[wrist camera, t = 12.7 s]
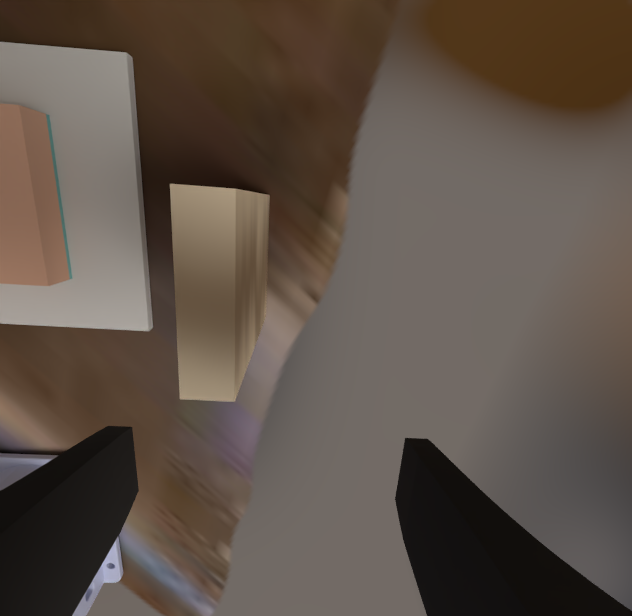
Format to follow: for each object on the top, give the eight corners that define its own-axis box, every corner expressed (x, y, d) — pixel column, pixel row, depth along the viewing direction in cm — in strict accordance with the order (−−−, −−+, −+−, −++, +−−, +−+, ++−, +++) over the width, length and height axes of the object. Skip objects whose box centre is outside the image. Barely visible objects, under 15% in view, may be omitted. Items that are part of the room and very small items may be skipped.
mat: (153, 327, 18) (148, 331, 17) (-90, 314, 17) (-101, 318, 17) (132, 57, 14) (126, 52, 14) (-172, 32, 14) (-189, 25, 13)
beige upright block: (265, 316, 18) (234, 401, 10) (234, 314, 18) (179, 398, 10) (269, 195, 16) (235, 188, 9) (235, 192, 16) (169, 183, 8)
